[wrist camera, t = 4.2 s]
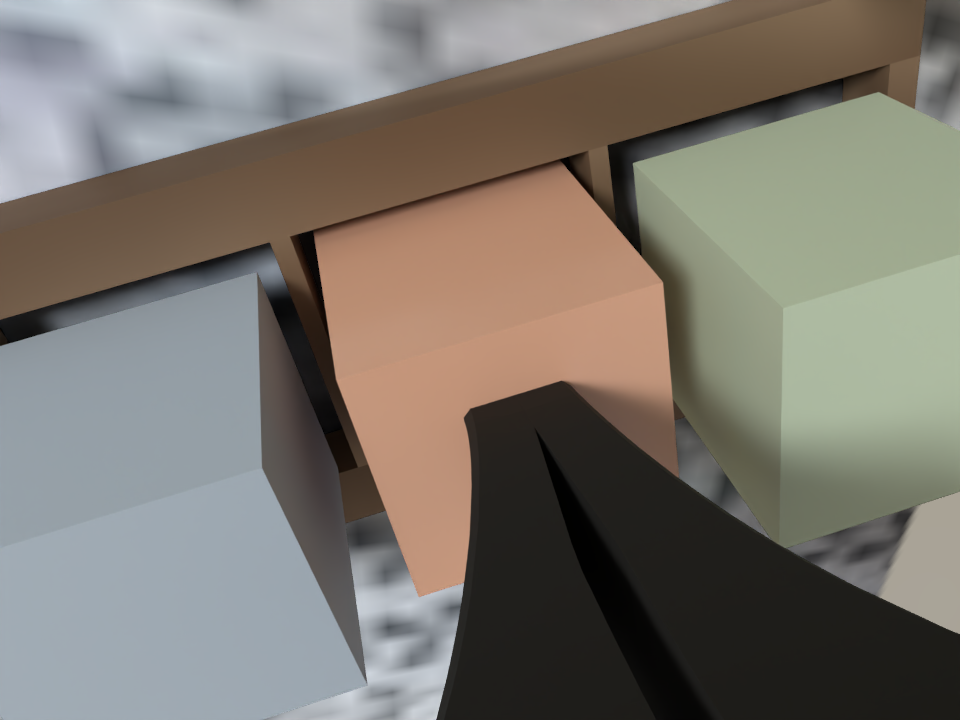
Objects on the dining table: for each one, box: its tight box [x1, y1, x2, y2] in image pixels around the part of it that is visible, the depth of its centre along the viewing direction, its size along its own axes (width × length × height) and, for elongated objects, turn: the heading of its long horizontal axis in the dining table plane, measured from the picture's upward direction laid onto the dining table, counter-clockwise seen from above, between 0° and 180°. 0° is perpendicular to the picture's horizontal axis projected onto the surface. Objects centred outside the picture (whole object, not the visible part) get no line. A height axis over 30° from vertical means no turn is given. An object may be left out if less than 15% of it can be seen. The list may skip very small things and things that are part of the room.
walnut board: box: [0, 0, 926, 523], centre depth 14 cm, size 7×15×1 cm, turn 101°
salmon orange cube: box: [313, 159, 679, 597], centre depth 13 cm, size 4×4×4 cm
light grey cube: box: [0, 272, 367, 720], centre depth 12 cm, size 4×4×4 cm
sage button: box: [633, 92, 960, 548], centre depth 12 cm, size 4×4×4 cm
